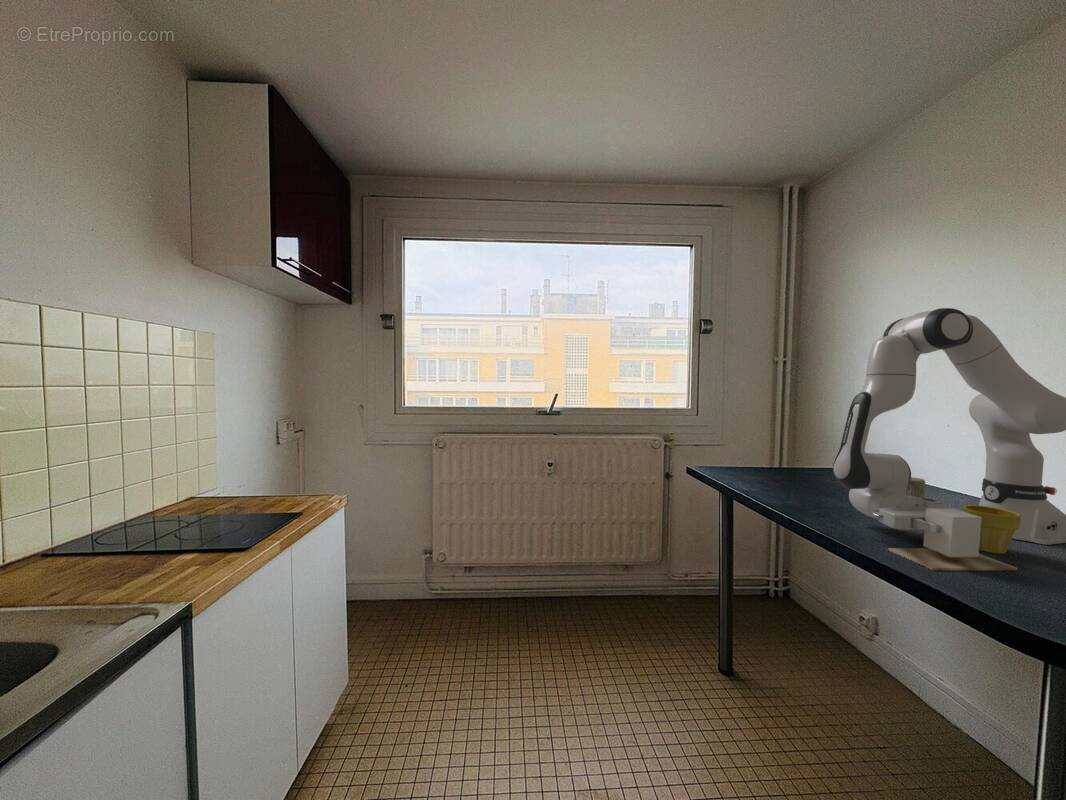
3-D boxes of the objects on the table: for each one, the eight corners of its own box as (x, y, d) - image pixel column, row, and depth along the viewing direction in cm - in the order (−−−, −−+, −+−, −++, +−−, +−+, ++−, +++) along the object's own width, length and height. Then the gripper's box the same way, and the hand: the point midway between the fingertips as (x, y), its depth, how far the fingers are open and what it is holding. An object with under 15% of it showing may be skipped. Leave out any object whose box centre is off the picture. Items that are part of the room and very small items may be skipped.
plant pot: (993, 543, 125) (996, 505, 124) (1029, 558, 114) (1033, 517, 114) (949, 540, 126) (952, 503, 125) (982, 555, 115) (985, 514, 115)
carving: (922, 516, 148) (925, 477, 147) (925, 522, 141) (928, 481, 141) (896, 513, 151) (898, 474, 150) (898, 518, 145) (901, 478, 144)
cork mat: (965, 550, 119) (965, 548, 119) (1017, 570, 107) (1017, 568, 107) (887, 550, 117) (887, 548, 117) (932, 570, 105) (932, 568, 105)
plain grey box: (950, 546, 115) (953, 508, 115) (978, 556, 109) (981, 517, 108) (923, 546, 115) (926, 508, 114) (949, 556, 108) (952, 517, 108)
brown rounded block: (949, 554, 114) (950, 542, 114) (963, 560, 110) (964, 547, 110) (936, 554, 113) (937, 542, 113) (949, 560, 110) (950, 547, 110)
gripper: (867, 499, 123) (913, 515, 110) (942, 500, 125) (997, 515, 111) (865, 524, 124) (911, 542, 110) (941, 524, 125) (995, 543, 112)
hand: (955, 529), depth 111 cm, fingers closed on plain grey box, 7 cm apart
